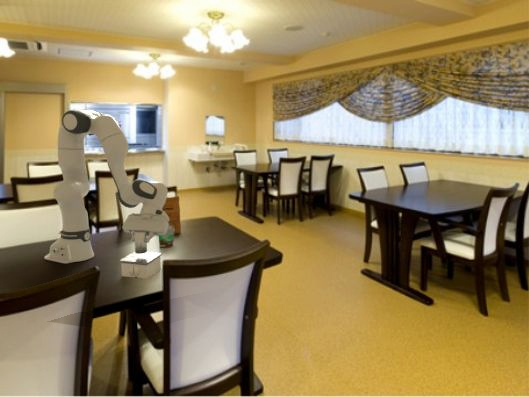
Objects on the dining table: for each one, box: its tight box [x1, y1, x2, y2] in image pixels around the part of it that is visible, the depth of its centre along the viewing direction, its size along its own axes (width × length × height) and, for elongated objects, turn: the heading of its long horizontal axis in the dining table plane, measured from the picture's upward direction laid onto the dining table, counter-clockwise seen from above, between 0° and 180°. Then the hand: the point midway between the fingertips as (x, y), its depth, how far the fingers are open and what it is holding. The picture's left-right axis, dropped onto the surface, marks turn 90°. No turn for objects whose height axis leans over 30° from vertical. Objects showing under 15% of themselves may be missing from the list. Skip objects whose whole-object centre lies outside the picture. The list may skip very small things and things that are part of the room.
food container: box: [157, 225, 175, 249], centre depth 209 cm, size 12×6×10 cm, turn 168°
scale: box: [120, 256, 162, 280], centre depth 172 cm, size 12×12×6 cm
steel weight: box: [134, 231, 148, 254], centre depth 170 cm, size 5×5×9 cm
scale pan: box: [119, 251, 163, 265], centre depth 171 cm, size 13×13×1 cm
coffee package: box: [162, 195, 182, 235], centre depth 234 cm, size 10×12×22 cm
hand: (139, 241), depth 169 cm, fingers closed on steel weight, 5 cm apart
